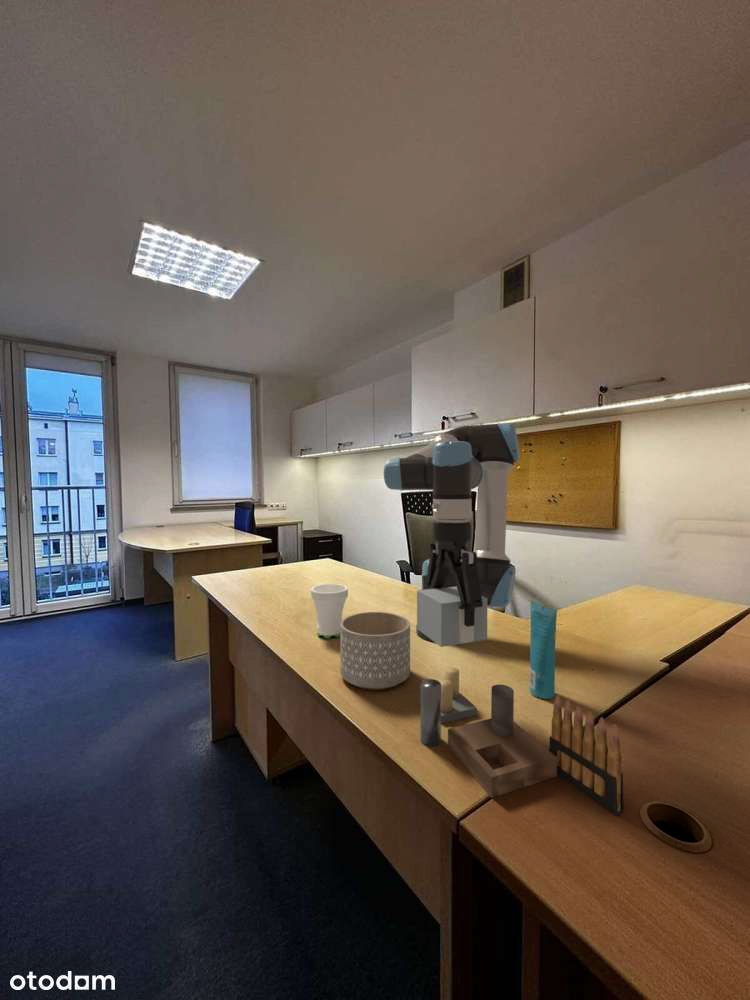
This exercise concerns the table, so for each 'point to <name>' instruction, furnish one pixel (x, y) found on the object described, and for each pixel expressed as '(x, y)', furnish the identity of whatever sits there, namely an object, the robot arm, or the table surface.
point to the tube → (542, 651)
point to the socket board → (501, 749)
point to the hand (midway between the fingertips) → (451, 631)
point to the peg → (430, 712)
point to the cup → (329, 607)
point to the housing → (446, 616)
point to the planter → (375, 650)
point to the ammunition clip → (588, 756)
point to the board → (454, 698)
